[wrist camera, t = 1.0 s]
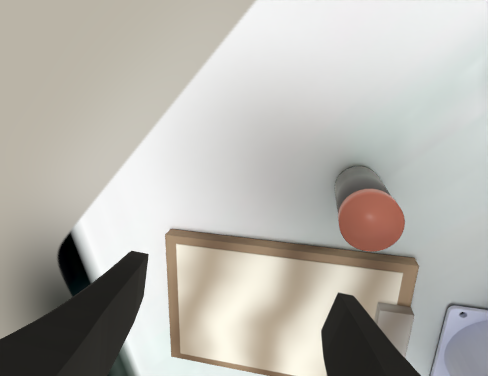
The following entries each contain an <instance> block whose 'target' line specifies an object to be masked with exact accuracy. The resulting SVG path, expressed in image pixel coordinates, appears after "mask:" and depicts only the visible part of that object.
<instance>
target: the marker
mask: <svg viewBox="0 0 488 376" xmlns="http://www.w3.org/2000/svg"><path fill="white" fill-rule="evenodd" d="M335 196H336V202H337V209H338V221H339V227H340V231H341V234H342V236H343V237H344V239H345V240H346V241H347V242H348V243H349V244H350V245H351V246H353V247H355V248H357V249H360V250H363V251H380V250H383V249H386V248H388V247H390V246H391V245H393V244H394V243H395V242H396V241H397V240H398V239H399V238H400V236H401V235H402V232H403V230H404V224H405V220H404V215H403V212H402V210H401V209H400V207H399V206H398V204H397V203H396V201H395V200H394V199H393V198H392V197H391V195H390V194H389V192H388V191H387V189H386V187H385V186H384V184H383V183H382V181H381V180H380V178H379V177H378V175H377V174H376V173H375V172H374V171H372V170H371V169H369V168H366V167H362V166H356V167H351V168H348V169H346V170H345V171H343V172H342V173H341V174H340V175H339V176H338V178H337V180H336V182H335Z"/></svg>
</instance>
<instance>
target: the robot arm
mask: <svg viewBox="0 0 488 376" xmlns="http://www.w3.org/2000/svg"><path fill="white" fill-rule="evenodd" d="M148 255H149V254H145V253H140V252H135V251H131V252H129V253H128V254H127V255H126V256H125V257H123V258H122V259H121V260H120V261H119V262H118V263H116V264H115V265H114V266H113V267H112V268H111V269H109V270H108V271H107V272H106V273H104V274H103V275H102V276H101V277H99V278H98V279H97V280H95V281H94V282H93V283H92V284H90V285H89V286H88V287H86V288H85V289H84V290H82V291H81V292H79V293H78V294H76V295H75V296H74V297H72V298H71V299H69V300H68V301H66V302H65V303H64V304H62V305H60V306H59V307H57V308H56V309H54V310H52V311H51V312H50V313H48V314H46V315H44V316H43V317H41V318H39V319H37V320H36V321H34V322H32V323H30V324H28V325H27V326H25V327H23V328H21V329H19V330H17V331H16V332H14V333H12V334H10V335H8V336H6V337H4V338H2V339H0V376H107V375H108V373H109V371H110V369H111V367H112V365H113V363H114V361H115V359H116V357H117V355H118V353H119V351H120V349H121V347H122V345H123V343H124V341H125V339H126V337H127V335H128V333H129V331H130V329H131V327H132V325H133V323H134V321H135V318H136V316H137V313H138V310H139V308H140V305H141V302H142V299H143V296H144V288H145V280H146V272H147V263H148ZM461 312H465V313H464V314H461V315H460V313H461ZM321 338H322V349H323V359H324V364H325V368H326V373H327V376H421V375H420V374H419V373H418V372H417V371H416V370H415V369H414V368H413V367H412V366H411V364H410V363H409V362H408V361H407V360H406V359H405V358H404V357H403V355H402V354H401V353H400V352H399V351H398V350H397V348H396V347H395V346H394V345H393V344H392V343H391V341H390V340H389V339H388V338H387V336H386V335H385V334H384V333H383V332H382V330H381V329H380V328H379V327H378V325H377V324H376V323H375V322H374V320H373V319H372V318H371V316H370V315H369V314H368V313H367V311H366V310H365V309H364V308H363V306H362V305H361V304H360V303H359V301H358V300H357V299H356V298H355V297H354V296H353V295H348V294H343V293H339V292H338V294H337V296H336V298H335V300H334V303H333V305H332V307H331V309H330V312H329V314H328V316H327V318H326V321H325V323H324V325H323V327H322V330H321ZM430 376H488V310H483V309H476V308H469V307H462V306H450V307H449V308H448V310H447V313H446V317H445V321H444V325H443V329H442V333H441V336H440V340H439V344H438V348H437V352H436V356H435V360H434V364H433V368H432V372H431V375H430Z"/></svg>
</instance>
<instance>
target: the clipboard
mask: <svg viewBox="0 0 488 376" xmlns="http://www.w3.org/2000/svg"><path fill="white" fill-rule="evenodd" d="M165 240H166V260H167V279H168V299H169V318H170V338H171V356H172V357H177V358H182V359H187V360H192V361H197V362H202V363H207V364H212V365H217V366H222V367H227V368H232V369H237V370H242V371H247V372H252V373H258V374H263V375H268V376H327V373H326V368H325V364H324V359H323V349H322V338H321V330H322V327H323V325H324V323H325V321H326V318H327V316H328V314H329V312H330V309H331V307H332V305H333V303H334V300H335V298H336V296H337V294H338V292H339V293H343V294H348V295H353V296H354V297H355V298H356V299H357V300H358V301H359V303H360V304H361V305H362V306H363V308H364V309H365V310H366V311H367V313H368V314H369V315H370V316H371V318H372V319H373V320H374V322H375V323H376V324H377V325H378V327H379V328H380V329H381V330H382V332H383V333H384V334H385V335H386V336H387V338H388V339H389V340H390V341H391V343H392V344H393V345H394V346H395V347H396V348H397V350H398V351H399V352H400V353H401V354H402V355H403V357H404V358H405V356H406V351H407V346H408V342H409V337H410V333H411V328H412V324H413V319H414V314H413V311H412V309H411V307H410V306H411V301H412V296H413V292H414V287H415V282H416V278H417V273H418V269H419V265H418V263H417V262H416V260H415V258H410V257H401V256H393V255H385V254H376V253H368V252H360V251H351V250H343V249H334V248H326V247H318V246H309V245H301V244H293V243H284V242H276V241H268V240H259V239H251V238H243V237H234V236H226V235H217V234H209V233H201V232H192V231H184V230H176V229H171V230H170V231H169V232H167V233H166V234H165Z"/></svg>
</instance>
